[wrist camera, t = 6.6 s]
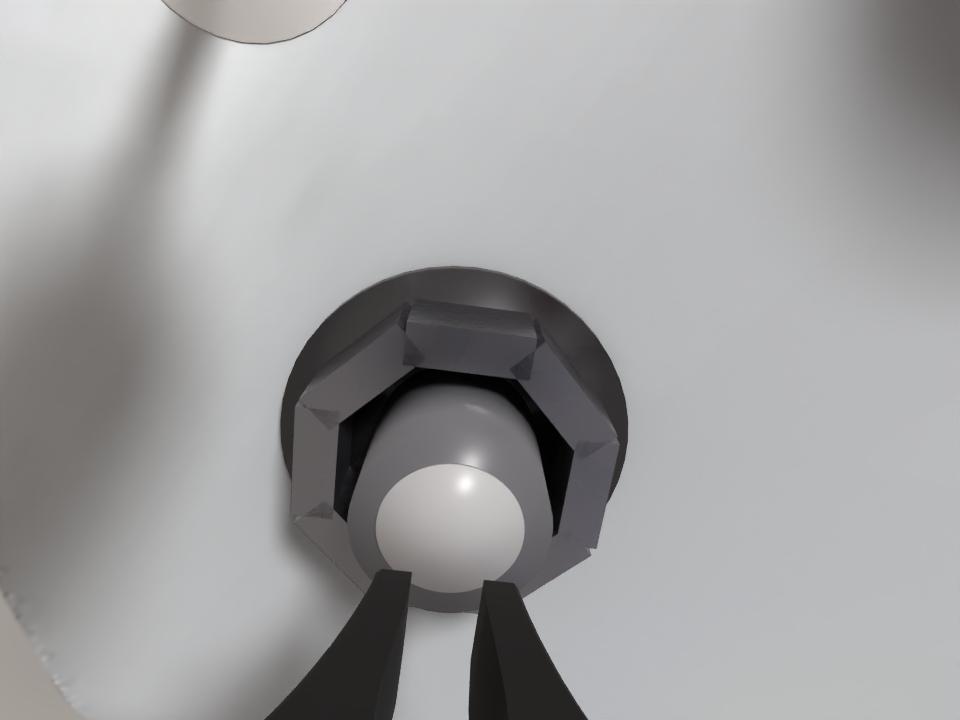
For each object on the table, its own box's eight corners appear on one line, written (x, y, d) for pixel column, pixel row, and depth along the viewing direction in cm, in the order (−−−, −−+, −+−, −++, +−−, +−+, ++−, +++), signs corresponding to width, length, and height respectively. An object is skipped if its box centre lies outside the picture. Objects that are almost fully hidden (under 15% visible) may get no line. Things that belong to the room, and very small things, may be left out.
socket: (590, 590, 23) (606, 654, 20) (279, 557, 22) (251, 618, 19) (658, 291, 19) (689, 317, 16) (291, 242, 19) (258, 261, 16)
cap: (522, 514, 21) (536, 624, 16) (371, 498, 21) (340, 605, 16) (546, 373, 20) (570, 450, 15) (383, 354, 19) (353, 426, 15)
